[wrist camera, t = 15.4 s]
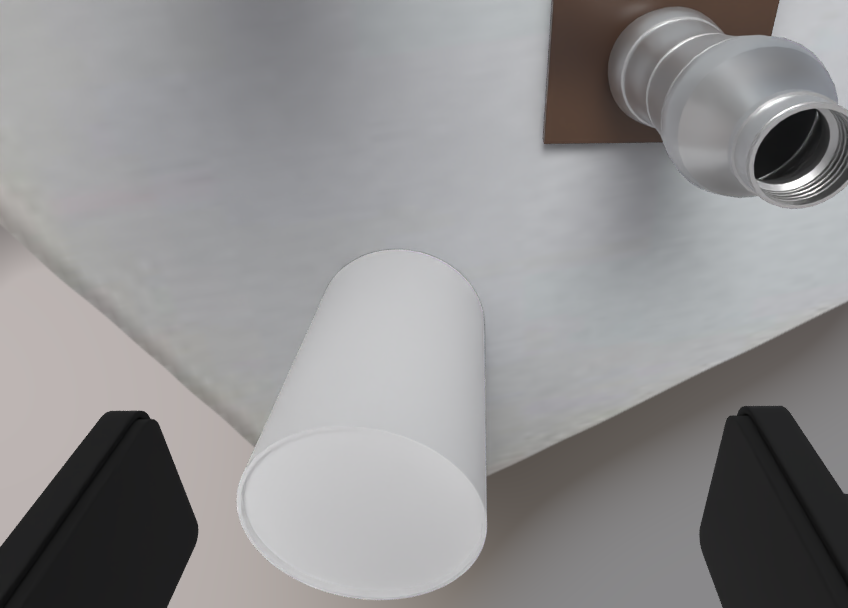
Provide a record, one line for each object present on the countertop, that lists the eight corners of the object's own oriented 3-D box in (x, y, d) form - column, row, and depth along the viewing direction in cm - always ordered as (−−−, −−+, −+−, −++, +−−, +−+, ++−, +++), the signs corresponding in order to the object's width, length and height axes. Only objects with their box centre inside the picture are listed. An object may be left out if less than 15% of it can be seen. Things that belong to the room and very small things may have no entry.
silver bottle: (653, -22, 35) (819, 5, 18) (736, 49, 37) (963, 136, 19) (578, 74, 38) (659, 177, 21) (658, 136, 40) (795, 280, 22)
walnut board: (553, -27, 36) (555, -27, 35) (780, -36, 35) (787, -35, 34) (542, 139, 41) (543, 144, 40) (741, 137, 40) (746, 141, 39)
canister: (462, 232, 45) (452, 406, 28) (499, 375, 52) (509, 588, 34) (296, 268, 48) (193, 447, 31) (350, 400, 54) (291, 609, 37)
